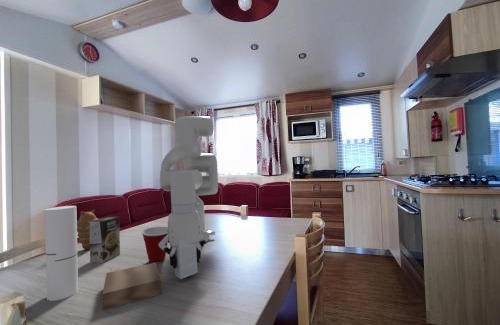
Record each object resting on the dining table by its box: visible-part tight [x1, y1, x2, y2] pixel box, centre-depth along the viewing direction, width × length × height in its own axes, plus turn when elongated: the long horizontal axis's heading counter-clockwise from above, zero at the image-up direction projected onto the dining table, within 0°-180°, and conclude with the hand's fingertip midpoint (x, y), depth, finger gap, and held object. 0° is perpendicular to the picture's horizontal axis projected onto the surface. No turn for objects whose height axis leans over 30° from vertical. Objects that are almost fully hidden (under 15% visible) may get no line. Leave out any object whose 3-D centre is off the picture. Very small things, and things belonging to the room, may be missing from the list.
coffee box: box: [89, 216, 121, 264], centre depth 95 cm, size 9×6×16 cm
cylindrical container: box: [44, 205, 79, 302], centre depth 68 cm, size 7×7×25 cm
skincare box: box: [174, 240, 198, 280], centre depth 74 cm, size 6×4×12 cm
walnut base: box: [102, 263, 163, 310], centre depth 68 cm, size 14×14×4 cm
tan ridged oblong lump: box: [77, 209, 99, 250], centre depth 107 cm, size 9×8×18 cm
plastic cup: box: [141, 225, 169, 264], centre depth 90 cm, size 11×11×12 cm
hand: (185, 263), depth 74 cm, fingers closed on skincare box, 6 cm apart
